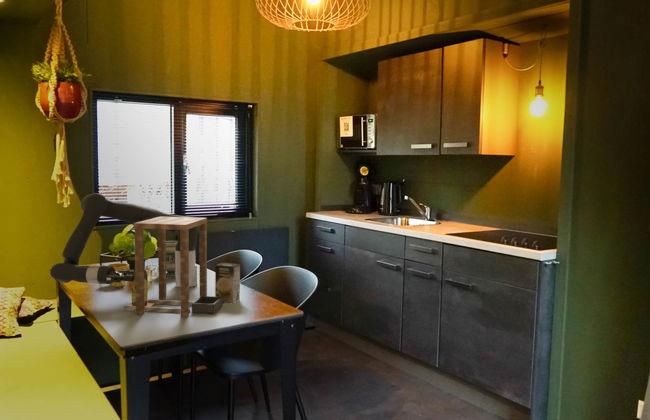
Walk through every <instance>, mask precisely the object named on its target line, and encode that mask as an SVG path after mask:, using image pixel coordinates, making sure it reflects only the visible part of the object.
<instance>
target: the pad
mask: <svg viewBox="0 0 650 420" xmlns="http://www.w3.org/2000/svg"><path fill="white" fill-rule="evenodd" d="M155 305H157V304H156V303H147V305H146V306H144V307H154V306H155ZM128 306H133V305H132V303H131V304H129V305H128Z"/></svg>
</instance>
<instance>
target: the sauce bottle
mask: <svg viewBox="0 0 650 420" xmlns="http://www.w3.org/2000/svg"><path fill="white" fill-rule="evenodd" d="M131 274H132V273H131ZM132 276H134V281H131V304H132V305H133V306H136V291H135V269H134V272H133V274H132ZM148 277H149V276H148V272H147V271H146V257H144V306H146V305H147V299H148V293H149V292H148V290H149V289H148V287H149V285H148V281H149V279H148Z"/></svg>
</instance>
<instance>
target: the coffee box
mask: <svg viewBox="0 0 650 420" xmlns="http://www.w3.org/2000/svg"><path fill="white" fill-rule="evenodd" d="M214 269H215V273H214V275H215V278H214V280H215V285H214V290H215V291H214V294H215V295H214V297H223V303H224V304H230V305H234V304H236V303H238V302H239V301H240V300H241V299H240V295H241V294H240V293H241V290H240V289H241V288H240V287H241V264H239V263H228V262H221V263H217V264H216V265H215V267H214Z"/></svg>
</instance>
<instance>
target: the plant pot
mask: <svg viewBox="0 0 650 420" xmlns="http://www.w3.org/2000/svg"><path fill="white" fill-rule="evenodd" d="M105 266H113V267H114V269H115V271H117V270H121V269H130V264H129V263H126V262H125V263H124V262H115V263H110V264H109V263H108V264H106V265H105ZM126 282H127V281H124V282H120V283H118V282H113V283H112V284H109V285H110V287H113V288H115V287H117V288H119V287H124V286H125V285H126Z"/></svg>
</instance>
